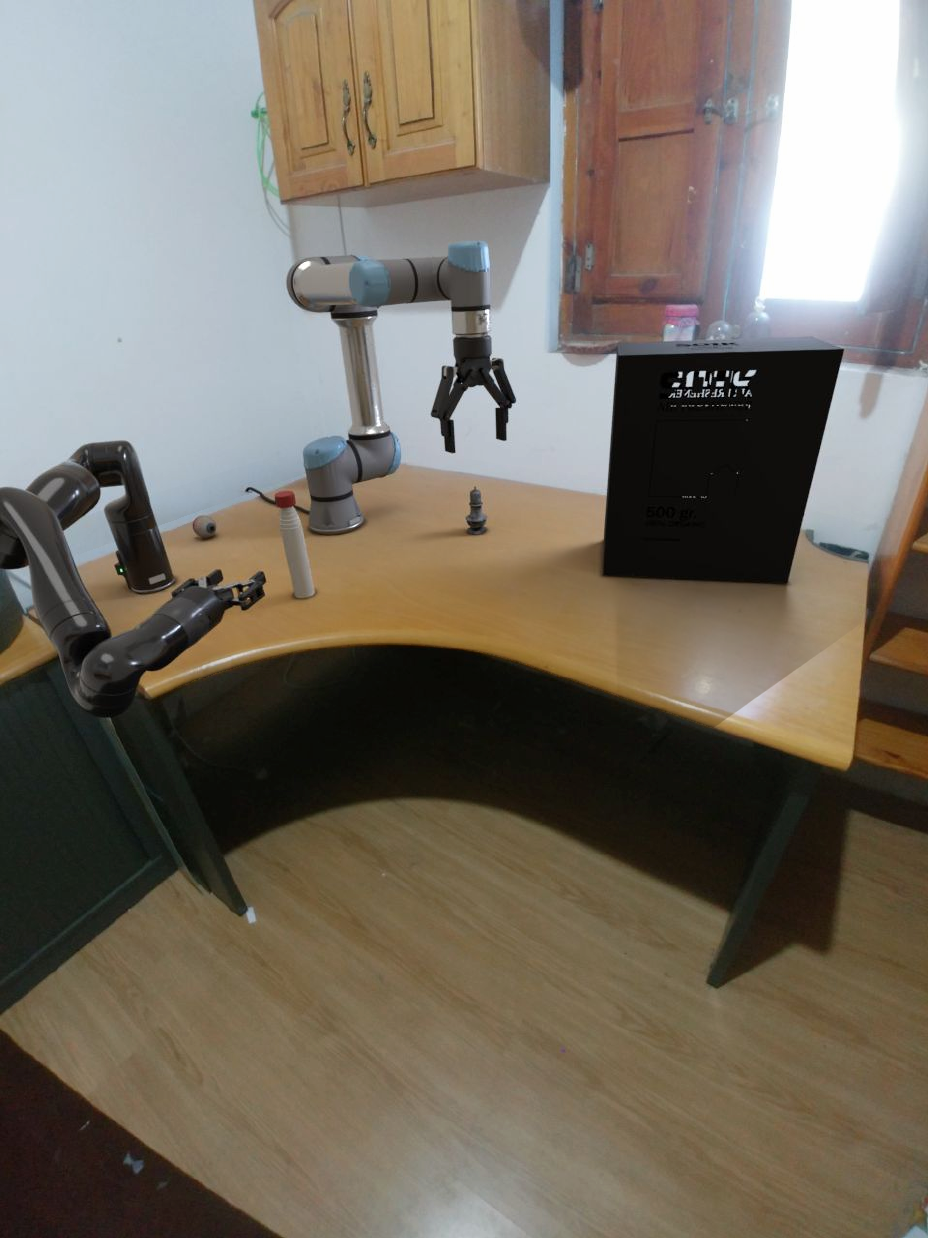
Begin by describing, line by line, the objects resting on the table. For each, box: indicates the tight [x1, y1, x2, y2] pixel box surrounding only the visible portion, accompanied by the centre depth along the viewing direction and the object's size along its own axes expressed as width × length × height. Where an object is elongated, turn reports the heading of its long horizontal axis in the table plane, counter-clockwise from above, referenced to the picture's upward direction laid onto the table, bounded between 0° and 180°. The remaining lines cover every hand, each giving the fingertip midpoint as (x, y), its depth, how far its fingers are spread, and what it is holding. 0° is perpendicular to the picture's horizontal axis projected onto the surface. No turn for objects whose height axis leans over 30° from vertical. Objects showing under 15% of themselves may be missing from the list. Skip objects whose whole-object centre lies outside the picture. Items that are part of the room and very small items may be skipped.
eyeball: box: [192, 514, 217, 538], centre depth 165 cm, size 6×6×6 cm
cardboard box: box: [602, 336, 845, 585], centre depth 127 cm, size 38×20×45 cm, turn 78°
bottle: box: [279, 506, 316, 599], centre depth 128 cm, size 4×4×22 cm
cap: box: [274, 490, 297, 509], centre depth 123 cm, size 4×4×2 cm
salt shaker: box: [464, 486, 489, 535], centre depth 157 cm, size 6×6×12 cm
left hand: (241, 574), depth 108 cm, fingers open, 8 cm apart
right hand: (476, 445), depth 127 cm, fingers open, 13 cm apart
